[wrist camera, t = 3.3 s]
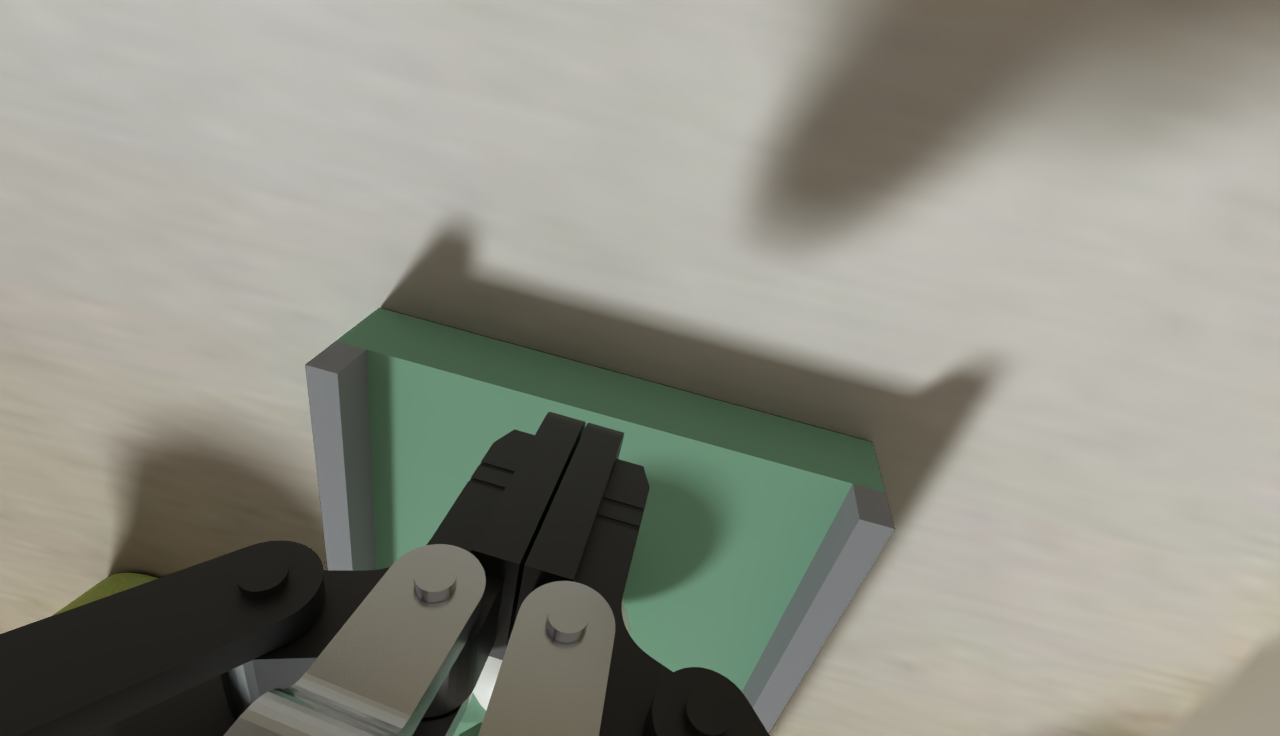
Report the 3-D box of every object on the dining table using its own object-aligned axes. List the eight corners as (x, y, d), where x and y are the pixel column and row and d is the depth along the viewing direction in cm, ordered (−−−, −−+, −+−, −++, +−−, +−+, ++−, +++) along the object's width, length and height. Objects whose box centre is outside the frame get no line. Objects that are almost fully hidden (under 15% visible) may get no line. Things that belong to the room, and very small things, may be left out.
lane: (379, 307, 17) (305, 364, 14) (872, 442, 16) (894, 528, 13) (392, 739, 29) (354, 813, 27) (669, 824, 29) (660, 908, 26)
